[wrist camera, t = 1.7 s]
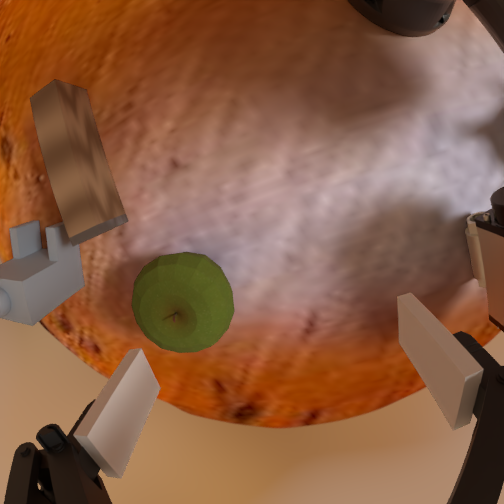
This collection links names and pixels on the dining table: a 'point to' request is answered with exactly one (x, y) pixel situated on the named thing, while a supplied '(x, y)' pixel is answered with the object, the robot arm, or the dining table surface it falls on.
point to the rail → (76, 161)
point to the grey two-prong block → (38, 273)
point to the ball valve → (489, 254)
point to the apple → (183, 302)
